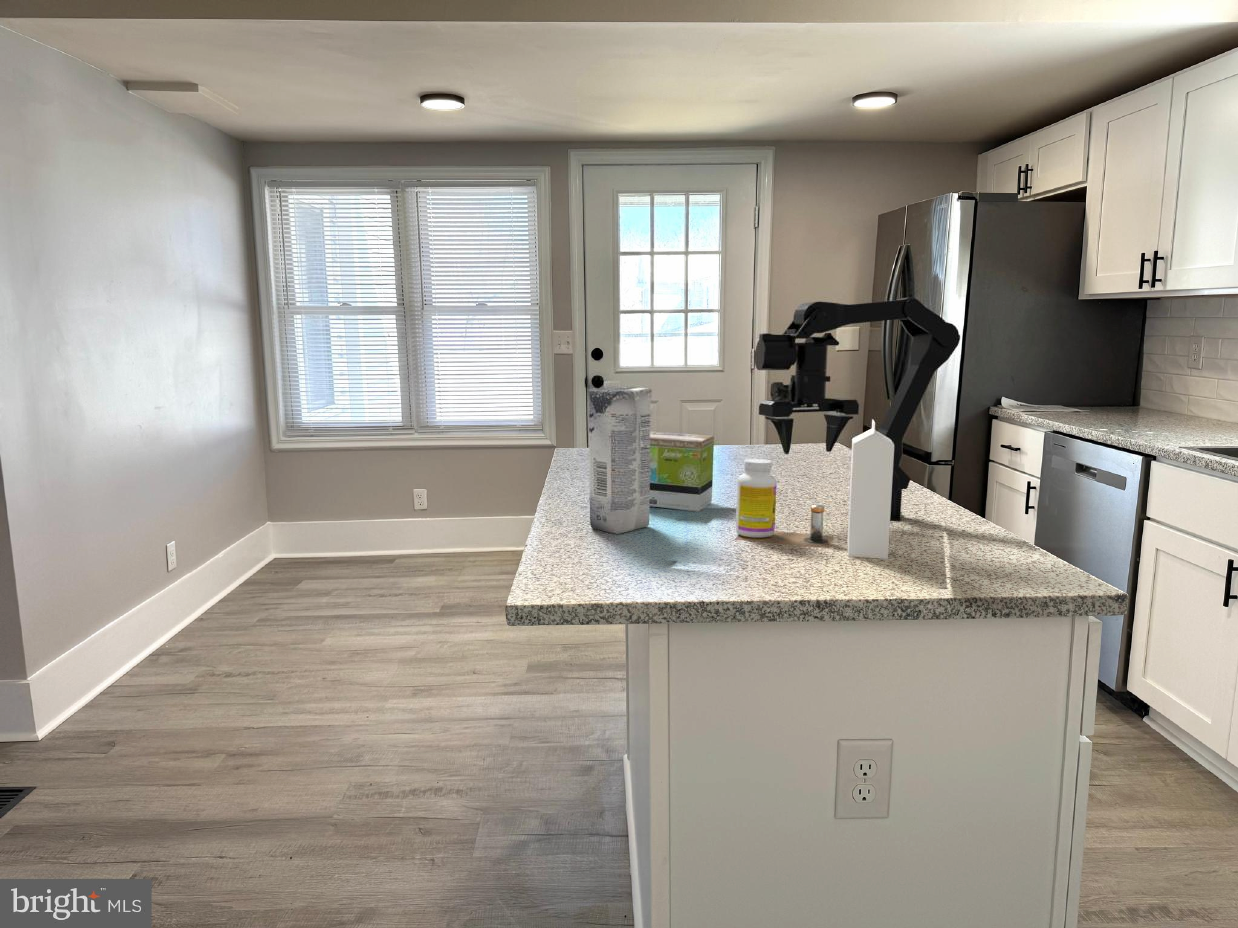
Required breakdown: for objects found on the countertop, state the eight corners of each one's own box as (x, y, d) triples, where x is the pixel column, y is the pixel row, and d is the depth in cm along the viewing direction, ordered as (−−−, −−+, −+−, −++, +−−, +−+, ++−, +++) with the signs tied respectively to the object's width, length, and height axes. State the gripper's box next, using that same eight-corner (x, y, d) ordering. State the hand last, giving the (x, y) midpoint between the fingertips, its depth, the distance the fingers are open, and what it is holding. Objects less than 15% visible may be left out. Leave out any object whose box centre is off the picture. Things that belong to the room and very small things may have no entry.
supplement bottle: (778, 539, 135) (782, 464, 134) (739, 538, 135) (742, 463, 133) (769, 529, 142) (772, 458, 140) (732, 529, 142) (735, 457, 140)
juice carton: (656, 526, 149) (658, 380, 144) (618, 536, 141) (618, 383, 137) (621, 519, 155) (621, 378, 150) (582, 528, 147) (581, 381, 143)
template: (833, 541, 138) (834, 536, 138) (828, 553, 130) (828, 547, 130) (744, 533, 143) (744, 528, 143) (734, 544, 136) (734, 538, 136)
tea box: (630, 506, 166) (630, 435, 164) (646, 497, 175) (647, 430, 173) (699, 512, 161) (701, 439, 158) (713, 503, 170) (714, 433, 167)
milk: (847, 562, 126) (853, 422, 122) (846, 552, 131) (852, 418, 128) (888, 565, 124) (895, 423, 121) (885, 554, 130) (892, 419, 126)
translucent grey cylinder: (823, 539, 135) (825, 504, 134) (821, 542, 133) (823, 507, 132) (810, 538, 136) (811, 503, 135) (808, 541, 134) (810, 506, 133)
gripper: (829, 368, 160) (825, 445, 163) (745, 369, 154) (743, 449, 157) (863, 370, 150) (859, 452, 153) (775, 371, 144) (772, 457, 146)
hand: (807, 452), depth 152 cm, fingers open, 9 cm apart
